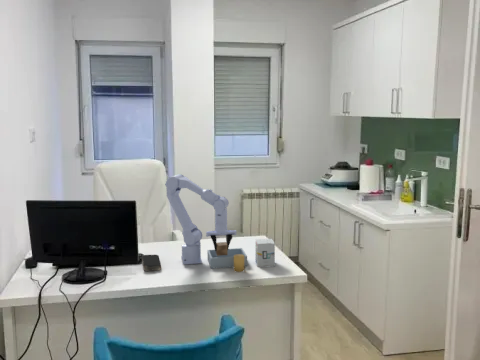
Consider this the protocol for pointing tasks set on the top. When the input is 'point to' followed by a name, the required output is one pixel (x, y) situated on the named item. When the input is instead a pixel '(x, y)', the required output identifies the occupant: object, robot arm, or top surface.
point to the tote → (224, 258)
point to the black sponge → (151, 262)
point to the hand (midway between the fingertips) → (221, 249)
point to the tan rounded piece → (239, 263)
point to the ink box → (265, 253)
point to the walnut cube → (221, 248)
